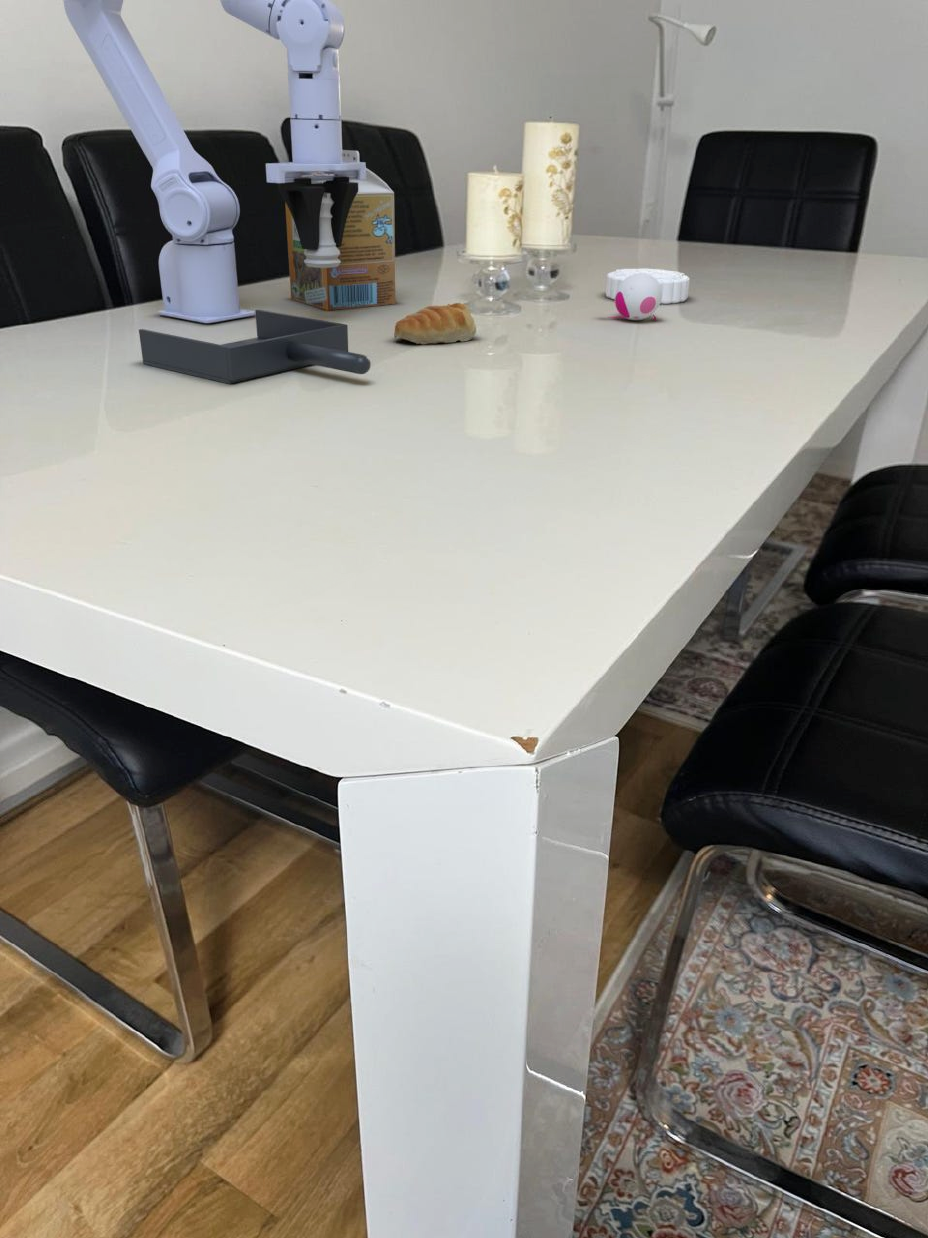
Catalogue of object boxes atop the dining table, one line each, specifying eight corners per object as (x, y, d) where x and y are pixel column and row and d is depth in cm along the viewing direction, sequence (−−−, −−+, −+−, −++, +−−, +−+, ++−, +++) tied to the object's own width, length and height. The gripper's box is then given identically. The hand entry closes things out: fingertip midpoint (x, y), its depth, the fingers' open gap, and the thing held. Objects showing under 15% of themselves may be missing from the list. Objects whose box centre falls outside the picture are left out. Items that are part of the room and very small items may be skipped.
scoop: (142, 363, 98) (138, 329, 96) (260, 340, 109) (258, 309, 108) (308, 402, 85) (306, 363, 84) (421, 371, 97) (421, 336, 95)
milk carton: (291, 299, 135) (282, 148, 126) (356, 293, 140) (351, 148, 132) (328, 310, 127) (321, 150, 119) (395, 303, 133) (393, 150, 124)
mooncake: (674, 291, 148) (677, 266, 146) (697, 304, 137) (700, 278, 135) (597, 290, 147) (599, 266, 145) (614, 304, 136) (617, 277, 134)
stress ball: (616, 339, 130) (592, 296, 128) (669, 305, 128) (645, 261, 126) (621, 348, 123) (595, 303, 121) (677, 313, 121) (651, 266, 119)
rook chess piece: (304, 262, 118) (301, 191, 114) (341, 263, 118) (339, 192, 114) (302, 267, 114) (299, 194, 110) (340, 268, 114) (338, 194, 110)
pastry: (415, 348, 106) (415, 313, 105) (381, 339, 111) (380, 304, 109) (481, 339, 112) (481, 305, 110) (445, 330, 116) (445, 297, 115)
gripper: (295, 119, 101) (302, 255, 108) (384, 121, 112) (386, 245, 118) (249, 118, 105) (258, 250, 111) (339, 120, 116) (343, 241, 122)
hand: (321, 247), depth 115 cm, fingers closed on rook chess piece, 3 cm apart
